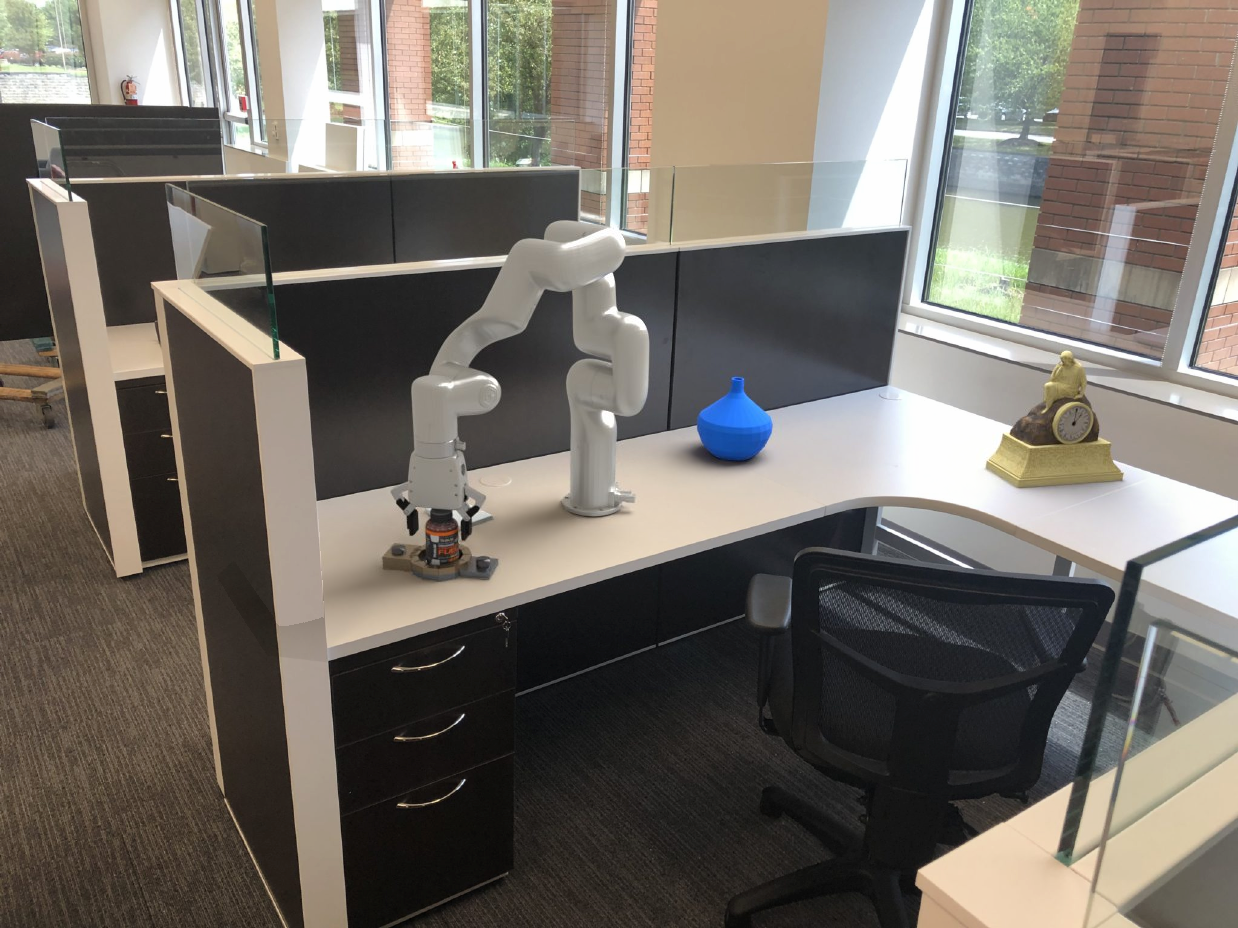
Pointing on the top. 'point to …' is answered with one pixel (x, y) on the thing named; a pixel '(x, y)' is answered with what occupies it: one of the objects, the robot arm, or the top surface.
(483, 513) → the external hard drive
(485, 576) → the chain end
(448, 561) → the supplement bottle
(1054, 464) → the decorative clock
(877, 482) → the top surface
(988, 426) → the top surface
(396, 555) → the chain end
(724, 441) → the vase
